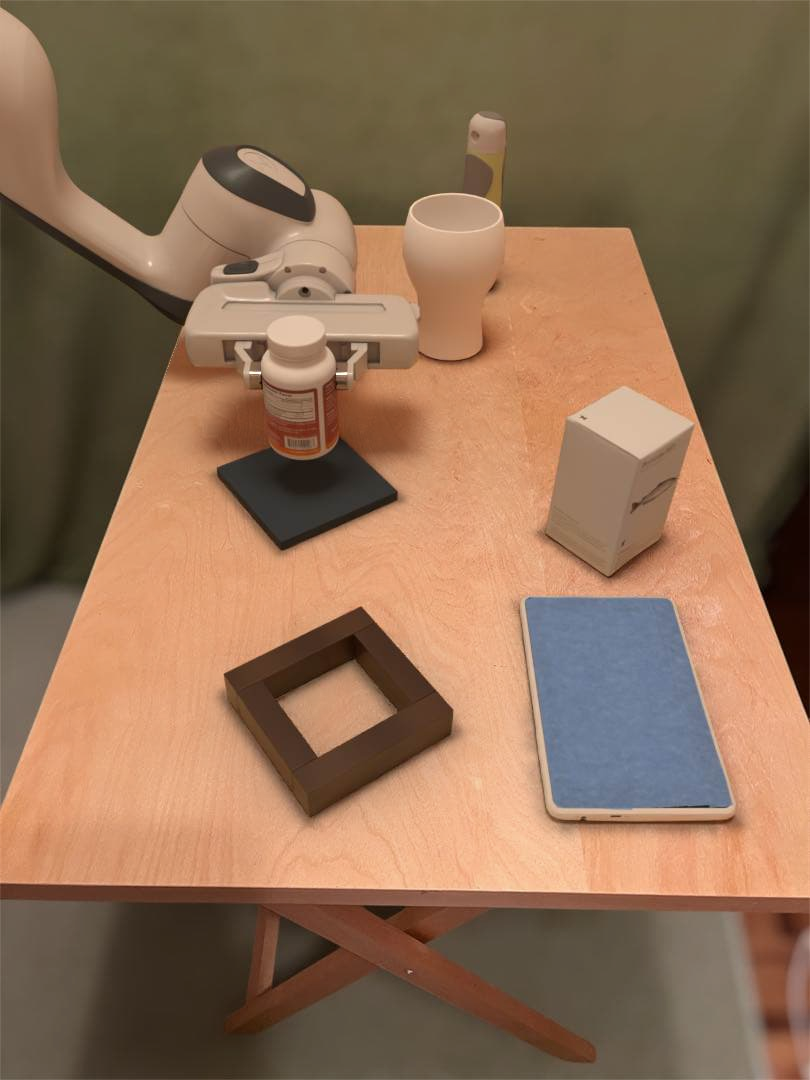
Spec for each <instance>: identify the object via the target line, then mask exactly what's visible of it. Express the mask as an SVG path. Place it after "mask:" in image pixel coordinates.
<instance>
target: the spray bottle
mask: <svg viewBox="0 0 810 1080" xmlns="http://www.w3.org/2000/svg"><path fill="white" fill-rule="evenodd" d="M507 136H508V135H507V122H506V120H505V118H504V117H503V116H502V115H501V114H500V113H497V112H495V111H491V110H482V111H481V110H480V111H478V113H476V114H475V115H473V116H472V118H471V119H470V121H469V124H468V136H467V145H466V147H467V148H466V149H467V150H466V154H465V159H464V173H463V183H462V184H463V185H462V194H469V195H475V196H478V197H482V198H485V199H487V200H489V201H491V202H493V203H495V204H496V205H497V206H498V207H499V208H500V209H501V210H502V203H503V193H504V181H505V168H506V154H507V146H506V144H507V143H506V142H507V138H508V137H507ZM496 281H497V279H496V280H495V282H494V284H493V285H492V287H491V288H490V289H492V288H493V287H494V286H495V284H496Z"/></svg>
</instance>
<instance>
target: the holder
mask: <svg viewBox="0 0 810 1080" xmlns="http://www.w3.org/2000/svg"><path fill="white" fill-rule="evenodd" d="M353 658H354V659H355V660H356V661H357V662H358V664H359V665H360V667H361V668H362V669H363V670H364V671H365V672H366V673H367V675H368V676H369V677H370V678H371V679H372V681H373V682H374V683H375V684H376V685H377V687H378V688H379V689H380V690H381V692H382V693H383V694H384V695H385V696H386V697H387V699H388V700H389V701H390V702H391V703H392V705H393V706H394V707H395V708H396V709H397V711H398V712H396V713H394V714H392V715H391V716H389V717H387V718H386V719H384V720H381V721H380V722H378V723H376V724H375V725H372V726H371V727H369V728H368V729H366V730H364V731H362V732H360V733H359V734H357V735H355V736H353V737H352V738H350V739H348V740H346V741H344V742H343V743H341V744H339V745H337V746H335V747H334V748H332V749H330V750H328V751H327V752H325V753H323V754H321V755H320V756H318V755H317V754H316V752H315V751H314V750H313V748H312V747H311V745H310V744H309V743H308V741H307V740H306V738H305V737H304V736H303V734H302V733H301V732H300V730H299V729H298V727H297V726H296V725H295V723H294V722H293V721H292V719H291V718H290V716H289V715H288V714H287V712H286V710H284V708H283V707H282V706H281V704H280V703H279V702H278V700H277V699H276V698H278V697H281V696H282V695H284V694H287V693H288V692H290V691H292V690H294V689H295V688H298V687H299V686H302V685H304V684H306V683H308V682H309V681H311V680H313V679H315V678H317V677H319V676H322V674H325V673H326V672H328V671H331V670H333V669H334V668H336V667H338V666H340V665H343V664H344V663H346V662H348V661H350V660H352V659H353ZM223 679H224V685H225V690H226V695H227V699H228V700H229V702H230V703H231V705H232V706H233V708H234V709H235V711H236V712H237V714H238V715H239V716H240V718H241V719H242V720H243V723H245V725H246V727H247V728H248V729H249V732H251V734H252V735H253V737H254V738H255V740H256V741H257V743H258V745H259V746H260V747H261V749H262V750H263V751H264V753H265V755H266V756H267V757H268V759H269V761H270V762H271V763H272V764H273V766H274V768H275V769H276V770H277V772H278V774H279V776H281V778H282V780H284V783H285V784H286V785H287V786H288V788H289V789H290V791H291V792H292V794H293V795H294V797H295V798H296V800H297V801H298V803H299V804H300V806H301V808H302V809H303V810H304V811H305V814H307V816H308V817H309V818H311V817H312V816H314V815H316V814H318V813H319V812H321V811H323V810H325V809H326V808H328V807H329V806H331V805H333V804H335V803H336V802H337V801H340V800H341V799H343V798H344V797H346V796H348V795H350V794H351V793H353V792H355V791H356V790H358V789H360V788H361V787H363V786H365V785H367V784H369V783H370V782H371V781H373V780H375V779H377V778H379V777H380V776H382V775H383V774H385V773H387V772H389V771H390V770H392V769H393V768H395V767H397V766H398V765H400V764H402V763H404V762H405V761H408V760H409V759H411V758H412V757H414V756H416V755H417V754H419V753H421V752H423V751H425V750H426V749H427V748H429V747H430V746H432V745H434V744H435V743H438V742H440V741H441V740H443V739H445V738H446V737H447V736H449V735H451V734H452V731H453V719H454V708H453V707H452V706H451V705H450V703H448V702H447V700H446V699H445V698H444V697H443V696H442V695H441V694H440V693H439V691H437V690H436V688H435V687H434V686H433V685H432V684H431V683H430V681H429V680H428V679H427V678H426V677H425V676H424V674H422V673H421V671H420V670H419V669H418V668H417V667H416V665H414V664H413V662H412V661H411V659H409V658H408V657H407V656H406V654H404V652H403V651H402V650H401V649H400V647H398V646H397V645H396V643H395V642H394V641H393V640H392V639H391V638H390V637H389V635H388V634H387V633H386V632H385V631H384V630H383V629H382V627H381V626H380V625H379V624H378V623H377V622H376V621H375V620H374V618H373V617H372V616H371V615H370V614H369V613H368V611H366V609H365V608H364V607H362V605H360V606H358V607H356V608H354V609H351V610H350V611H348V612H346V613H344V614H342V615H340V616H338V617H336V618H334V619H332V620H330V621H328V622H325V623H323V624H322V625H320V626H318V627H315V628H313V629H311V630H310V631H307V632H306V633H303V634H301V635H299V636H297V637H295V638H293V639H291V640H289V641H286V642H285V643H283V644H281V645H279V646H276V647H274V648H272V649H271V650H269V651H267V652H265V653H263V654H261V655H258V656H256V657H254V658H253V659H250V660H248V661H246V662H245V663H242V664H241V665H238V666H236V667H234V668H233V669H230V670H228V671H226V672H224V673H223Z"/></svg>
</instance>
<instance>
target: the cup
mask: <svg viewBox="0 0 810 1080" xmlns="http://www.w3.org/2000/svg"><path fill="white" fill-rule="evenodd" d="M505 227H506V226H505V219H504V214H503V211H502V208H501V209H500V208H499V207H498V206H497V205H496V204H495V203H493V202H491V201H489V200H487V199H485V198H482V197H478V196H475V195H469V194H463V193H462V192H461V193H460V192H459V193H457V192H446V193H445V192H444V193H436V194H430V195H428V196H424V197H421V198H418V199H417V200H416V201H414V202H413V203H412V205H411V206H410V207H409V209H408V213H407V217H406V221H405V225H404V227H403V228H404V229H403V234H402V258H403V261H404V264H405V269H406V273H407V276H408V278H409V281H410V282H411V284H412V286H413V288H414V290H415V292H416V297H417V305H418V306H419V308H420V311H421V320H420V322H419V324H418V329H419V352H420V353H421V354H423V355H424V356H426V357H429V358H432V359H437V360H441V361H459V360H465V359H469V358H470V357H473V356H475V355H476V354H477V353H479V352H480V351H481V350H482V348H483V325H482V317H481V315H482V310H483V306H484V302H485V297H486V296H487V294H488V293H489V291H490V290H491V289H492V288H493V287H492V285H493V284H494V282H495V283H496V281H497V278H498V275H499V273H500V271H501V268H502V265H503V264H504V261H505V253H506V246H507V245H506V243H507V235H506V234H507V233H506V228H505ZM495 280H496V281H495ZM494 285H495V284H494ZM491 287H492V288H491Z"/></svg>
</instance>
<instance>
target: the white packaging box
mask: <svg viewBox="0 0 810 1080" xmlns="http://www.w3.org/2000/svg"><path fill="white" fill-rule="evenodd" d="M695 426H696V423H695V422H694V421H692V420H690V419H688V418H686V417H685V416H682V414H679V413H677V412H675V411H673V410H672V409H670V408H668V407H667V406H664V405H662V404H661V403H659V402H657V401H655V400H653V399H651V398H650V397H647V396H645V395H643V394H641V393H640V392H638V391H636V390H635V389H633V388H631V387H629V386H627V385H625V384H624V385H621V386H619V387H617V388H616V389H613V390H612V391H611V392H609V393H606V394H605V395H603V396H602V397H600V398H598V399H597V400H594V401H592V402H591V403H590V404H588V405H585V406H584V407H583V408H581V409H579V410H577V411H576V412H574V413H572V414H571V415H568V416H567V417H566V420H565V425H564V430H563V436H562V441H561V446H560V447H561V448H560V452H559V457H558V462H557V467H556V472H555V478H554V483H553V488H552V489H553V490H552V494H551V499H550V505H549V511H548V516H547V521H546V527H545V531H544V533H545V534H546V535H547V536H549V537H550V538H551V539H553V540H554V541H555V542H556V543H558V544H559V545H561V546H563V547H564V548H565V549H566V550H568V551H570V552H571V553H573V554H574V555H575V556H576V557H578V558H579V559H581V560H583V561H584V562H585V563H587V564H588V565H589V566H591V567H593V569H595V570H597V572H600V573H601V574H603V575H604V576H606V577H610V576H612V575H613V574H614V573H615V572H617V570H619V569H620V568H621V567H623V566H624V565H626V564H627V563H628V562H630V560H632V559H633V558H634V557H636V556H637V555H639V554H641V553H642V552H643V551H645V550H646V549H647V548H649V547H650V546H652V545H653V544H655V543H657V542H658V541H659V540H661V537H662V534H663V530H664V527H665V524H666V521H667V517H668V515H669V513H670V508H671V505H672V501H673V498H674V495H675V492H676V489H677V487H678V486H677V485H678V483H679V479H680V475H681V471H682V469H683V465H684V461H685V459H686V455H687V453H688V450H689V449H688V448H689V446H690V443H691V439H692V436H693V432H694V430H695Z"/></svg>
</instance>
